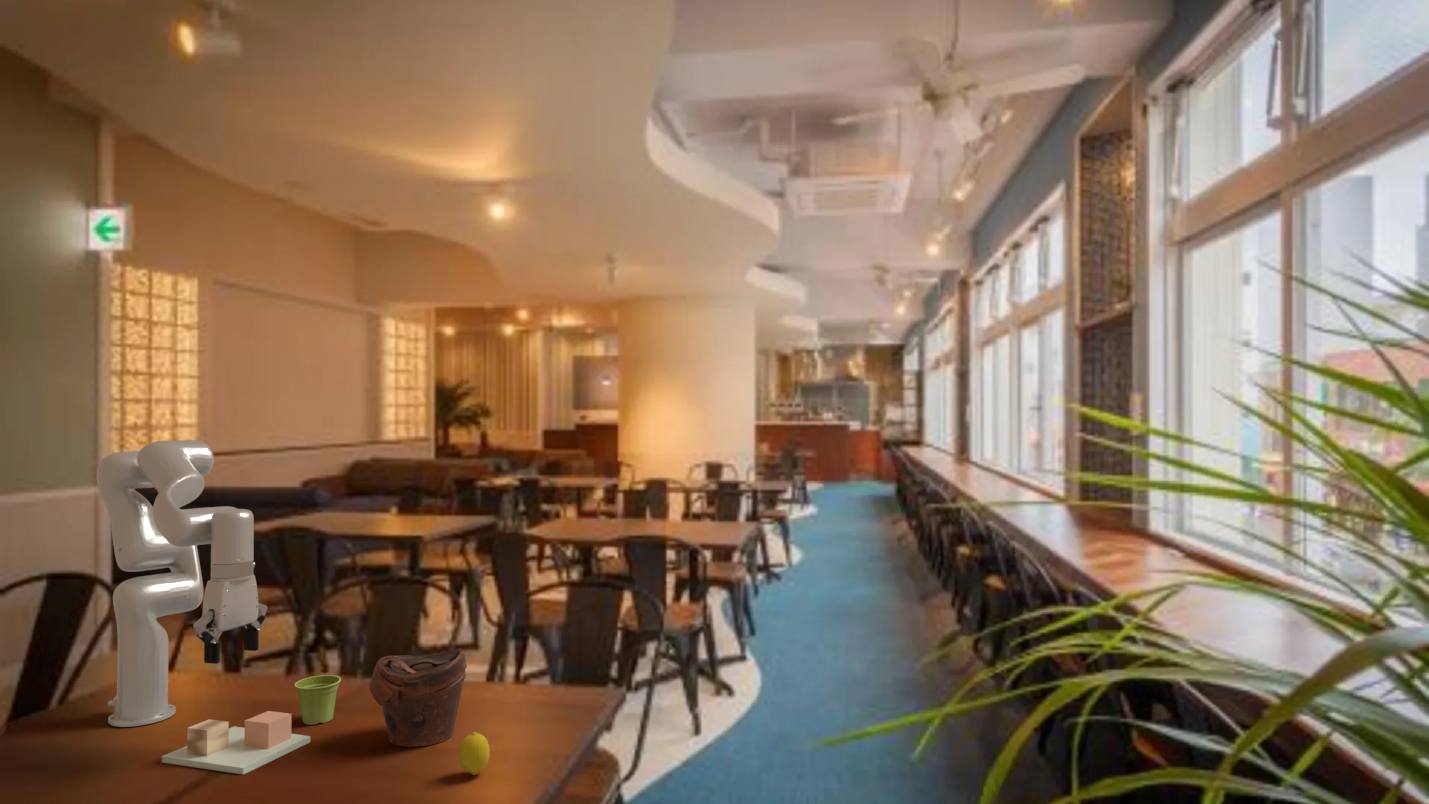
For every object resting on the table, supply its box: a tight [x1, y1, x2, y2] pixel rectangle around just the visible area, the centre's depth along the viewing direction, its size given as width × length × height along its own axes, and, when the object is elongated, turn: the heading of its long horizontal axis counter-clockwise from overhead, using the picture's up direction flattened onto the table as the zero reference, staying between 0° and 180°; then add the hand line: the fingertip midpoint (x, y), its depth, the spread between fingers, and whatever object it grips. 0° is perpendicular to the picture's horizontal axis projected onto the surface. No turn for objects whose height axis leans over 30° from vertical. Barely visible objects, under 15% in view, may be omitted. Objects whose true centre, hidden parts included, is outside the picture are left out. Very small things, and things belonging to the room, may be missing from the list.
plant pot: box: [293, 674, 342, 726], centre depth 190 cm, size 9×9×9 cm
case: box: [369, 647, 468, 748], centre depth 180 cm, size 18×20×18 cm
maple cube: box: [186, 718, 230, 756], centre depth 170 cm, size 5×5×5 cm
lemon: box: [458, 731, 491, 776], centre depth 160 cm, size 6×6×8 cm
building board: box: [161, 725, 311, 775], centre depth 172 cm, size 20×17×1 cm
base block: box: [244, 710, 293, 749], centre depth 174 cm, size 6×6×5 cm
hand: (232, 656), depth 172 cm, fingers open, 9 cm apart
